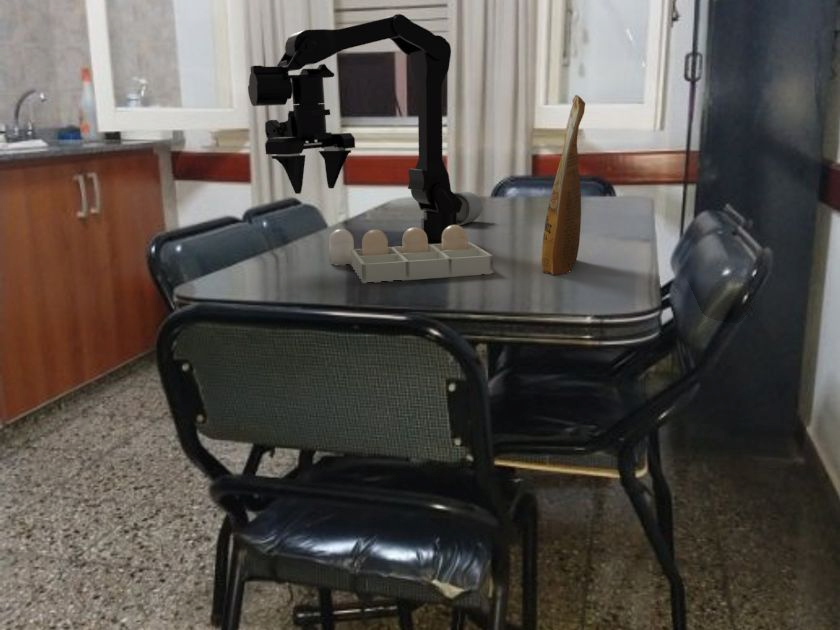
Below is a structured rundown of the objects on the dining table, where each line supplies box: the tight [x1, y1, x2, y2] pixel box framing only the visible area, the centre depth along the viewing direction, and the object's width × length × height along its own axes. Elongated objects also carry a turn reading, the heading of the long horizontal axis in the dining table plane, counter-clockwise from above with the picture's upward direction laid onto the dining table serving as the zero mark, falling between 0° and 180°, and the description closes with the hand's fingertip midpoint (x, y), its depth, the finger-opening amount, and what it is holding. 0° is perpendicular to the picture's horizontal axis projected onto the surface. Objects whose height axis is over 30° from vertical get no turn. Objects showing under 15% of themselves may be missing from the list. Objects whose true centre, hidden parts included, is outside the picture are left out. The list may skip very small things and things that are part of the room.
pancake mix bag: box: [541, 94, 586, 276], centre depth 129 cm, size 7×19×28 cm, turn 164°
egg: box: [328, 228, 355, 266], centre depth 140 cm, size 4×4×6 cm
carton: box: [351, 225, 494, 284], centre depth 132 cm, size 22×15×7 cm
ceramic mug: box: [453, 191, 483, 227], centre depth 185 cm, size 11×8×8 cm
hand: (315, 190), depth 146 cm, fingers open, 9 cm apart
